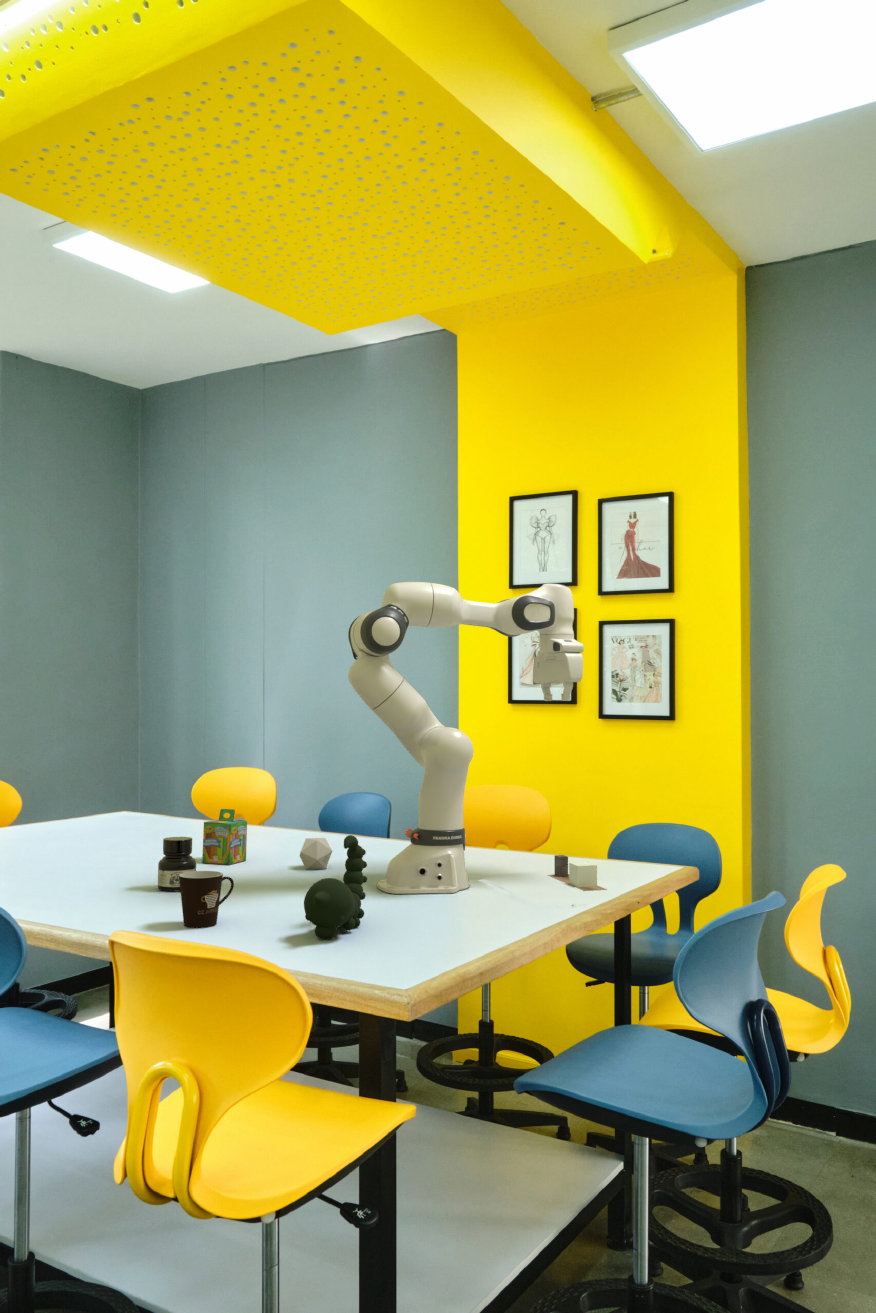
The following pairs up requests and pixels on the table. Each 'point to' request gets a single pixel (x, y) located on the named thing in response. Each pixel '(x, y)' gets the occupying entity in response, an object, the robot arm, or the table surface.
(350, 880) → the toy figurine
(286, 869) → the table surface
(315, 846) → the die
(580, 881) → the cube
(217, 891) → the coffee mug
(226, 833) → the chalk box
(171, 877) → the ink bottle
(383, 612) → the robot arm
